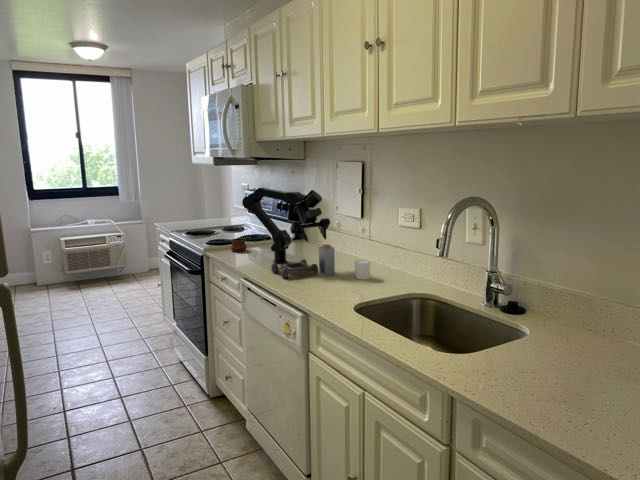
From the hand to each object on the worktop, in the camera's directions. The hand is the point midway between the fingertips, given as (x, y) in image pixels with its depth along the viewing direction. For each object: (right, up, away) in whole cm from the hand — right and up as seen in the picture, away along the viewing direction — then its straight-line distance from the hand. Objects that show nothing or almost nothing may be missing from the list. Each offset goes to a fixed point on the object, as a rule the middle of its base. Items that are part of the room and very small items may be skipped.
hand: (316, 240), depth 213 cm
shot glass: (+20, -16, -11) cm, 28 cm away
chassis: (-10, -15, -3) cm, 18 cm away
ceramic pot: (-44, -7, +49) cm, 66 cm away
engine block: (+5, -15, -4) cm, 16 cm away
